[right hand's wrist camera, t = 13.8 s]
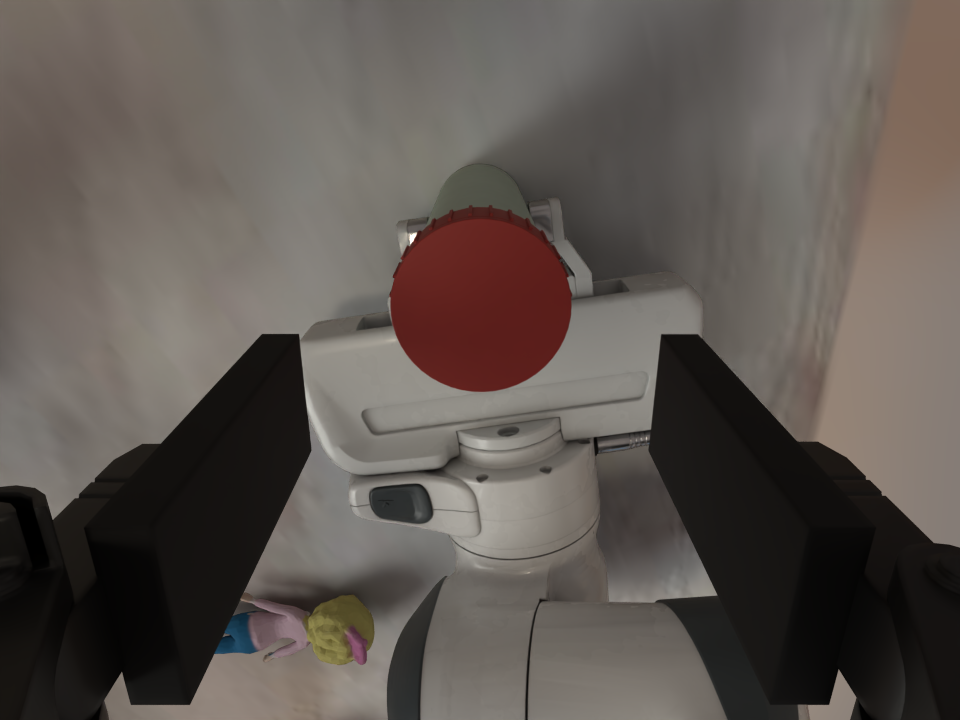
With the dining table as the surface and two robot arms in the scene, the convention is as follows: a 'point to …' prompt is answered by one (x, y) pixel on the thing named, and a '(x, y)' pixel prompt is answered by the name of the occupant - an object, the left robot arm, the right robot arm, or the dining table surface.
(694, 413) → the right robot arm
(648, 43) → the dining table surface
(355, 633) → the figurine
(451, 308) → the lid
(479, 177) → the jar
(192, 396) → the dining table surface
